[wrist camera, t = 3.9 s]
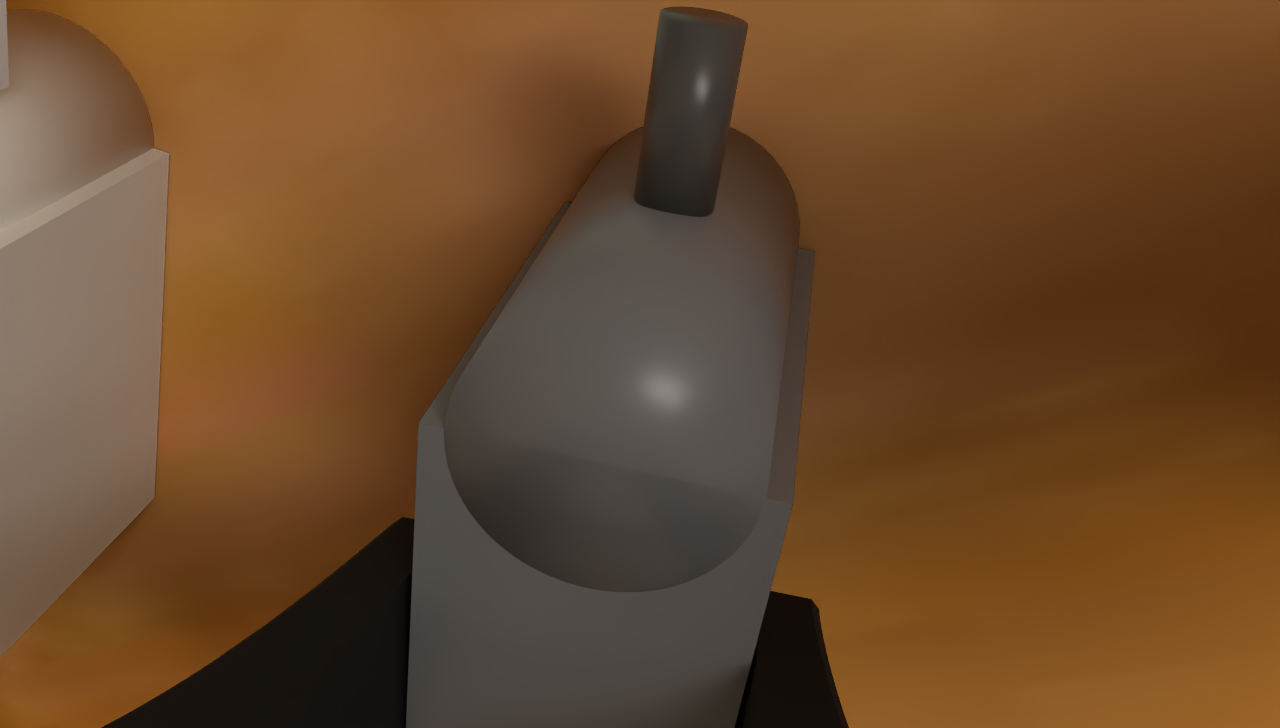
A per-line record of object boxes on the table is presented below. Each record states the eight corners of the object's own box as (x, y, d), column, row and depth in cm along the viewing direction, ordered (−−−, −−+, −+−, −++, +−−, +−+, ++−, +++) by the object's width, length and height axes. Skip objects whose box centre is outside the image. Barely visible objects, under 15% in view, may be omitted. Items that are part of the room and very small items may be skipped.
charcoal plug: (593, -56, 14) (433, 57, 9) (876, -6, 13) (888, 140, 8) (507, 727, 21) (392, 1043, 16) (689, 770, 21) (634, 1108, 16)
